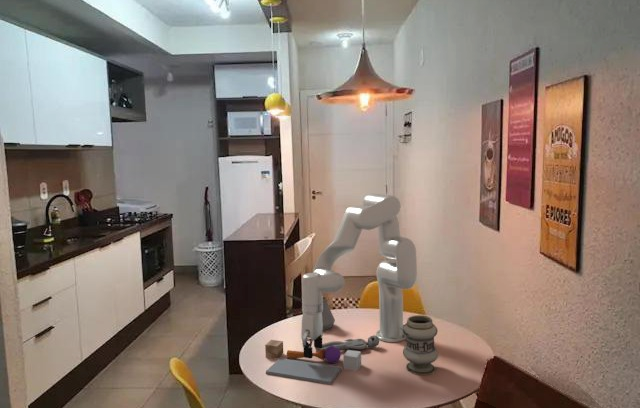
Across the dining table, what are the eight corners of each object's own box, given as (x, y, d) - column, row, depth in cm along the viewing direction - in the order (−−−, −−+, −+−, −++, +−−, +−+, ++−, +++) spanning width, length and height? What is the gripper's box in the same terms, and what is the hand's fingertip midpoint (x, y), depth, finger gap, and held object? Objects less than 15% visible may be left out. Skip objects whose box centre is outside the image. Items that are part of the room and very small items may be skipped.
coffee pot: (335, 322, 210) (334, 289, 209) (334, 331, 199) (333, 297, 197) (288, 322, 211) (287, 290, 210) (285, 332, 200) (283, 298, 198)
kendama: (289, 345, 177) (341, 344, 173) (290, 361, 177) (342, 360, 172) (285, 348, 171) (338, 347, 167) (286, 365, 171) (339, 364, 166)
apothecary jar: (395, 367, 164) (395, 318, 162) (418, 357, 171) (418, 310, 169) (422, 380, 155) (422, 327, 153) (445, 369, 162) (445, 319, 160)
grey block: (361, 365, 167) (361, 351, 167) (357, 371, 163) (356, 357, 162) (348, 363, 169) (347, 349, 169) (343, 369, 164) (343, 355, 164)
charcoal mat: (341, 369, 164) (341, 367, 164) (330, 384, 154) (330, 381, 153) (280, 360, 173) (279, 358, 172) (265, 373, 162) (265, 371, 162)
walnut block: (283, 353, 179) (283, 341, 178) (277, 359, 174) (277, 346, 174) (271, 352, 180) (271, 339, 180) (265, 357, 176) (265, 344, 175)
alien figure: (314, 337, 184) (376, 331, 185) (315, 349, 184) (377, 343, 186) (315, 345, 176) (380, 339, 177) (316, 358, 176) (381, 351, 178)
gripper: (312, 299, 179) (312, 342, 181) (293, 313, 163) (294, 360, 165) (330, 301, 177) (330, 345, 178) (313, 315, 161) (313, 363, 162)
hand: (313, 352), depth 172 cm, fingers open, 9 cm apart
